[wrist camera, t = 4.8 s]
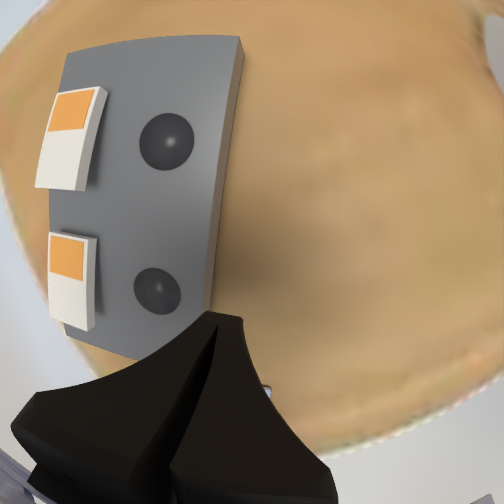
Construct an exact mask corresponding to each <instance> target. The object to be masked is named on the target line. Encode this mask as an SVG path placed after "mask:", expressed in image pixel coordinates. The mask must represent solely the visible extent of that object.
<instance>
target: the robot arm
mask: <svg viewBox="0 0 504 504" xmlns="http://www.w3.org/2000/svg"><path fill="white" fill-rule="evenodd" d="M270 396H271V389H270V388H268V387H263V386H262V384H261V382H260V380H259V377H258V375H257V373H256V371H255V368H254V366H253V363H252V360H251V358H250V354H249V351H248V348H247V345H246V341H245V336H244V330H243V319H242V318H241V317H238V316H232V315H227V314H221V313H216V312H211V311H205V312H204V313H202V314H201V315H200V316H199V317H198V318H197V319H196V320H195V321H194V322H193V323H192V324H191V325H189V326H188V327H187V328H186V329H185V330H183V331H182V332H181V333H180V334H179V335H177V336H176V337H175V338H174V339H172V340H171V341H170V342H168V343H167V344H165V345H164V346H162V347H161V348H159V349H158V350H157V351H155V352H154V353H152V354H150V355H149V356H147V357H145V358H144V359H142V360H140V361H138V362H136V363H135V364H133V365H131V366H129V367H127V368H124V369H122V370H120V371H117V372H115V373H112V374H110V375H108V376H105V377H102V378H99V379H96V380H93V381H90V382H87V383H84V384H79V385H76V386H71V387H66V388H61V389H55V390H49V391H42V392H36V393H35V394H34V395H33V397H32V398H31V399H30V400H29V401H28V402H27V404H26V405H25V406H24V408H23V409H22V410H21V412H20V413H19V414H18V415H17V417H16V418H15V419H14V421H13V422H12V423H11V431H12V432H13V435H14V436H15V438H16V439H17V441H18V442H19V443H20V444H21V446H22V447H23V448H24V449H25V450H26V452H27V453H28V454H29V455H30V456H31V457H32V458H33V460H34V461H35V462H36V463H37V465H36V466H35V468H34V470H33V471H32V472H30V471H29V470H27V469H26V468H25V467H23V466H22V465H21V464H19V463H18V462H16V461H15V460H14V459H13V458H11V457H10V456H9V455H8V454H7V453H5V452H4V451H3V450H2V449H0V504H36V503H35V501H34V497H33V495H34V496H36V497H37V498H39V499H40V500H42V501H43V502H45V503H46V504H338V494H337V490H336V487H335V483H334V480H333V477H332V474H331V471H330V469H329V467H327V466H326V465H325V464H324V463H323V462H322V461H321V460H320V459H318V458H317V457H316V456H315V455H314V454H313V453H312V452H311V451H310V450H309V449H308V448H307V447H306V446H305V445H304V444H303V442H302V441H301V440H300V439H299V438H298V437H297V436H296V435H295V433H294V432H293V431H292V430H291V428H290V427H289V426H288V424H287V423H286V422H285V420H284V419H283V418H282V416H281V415H280V414H279V412H278V411H277V410H276V408H275V406H274V405H273V403H272V402H271V400H270ZM31 493H32V494H33V495H32V494H31ZM471 504H494V501H493V498H492V495H491V494H488V495H486V496H484V497H482V498H480V499H478V500H476V501H475V502H473V503H471Z"/></svg>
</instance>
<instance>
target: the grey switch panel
mask: <svg viewBox="0 0 504 504" xmlns="http://www.w3.org/2000/svg"><path fill="white" fill-rule="evenodd" d="M244 56H245V53H244V50H243V47H242V44H241V40H240V37H239V36H225V35H186V36H167V37H155V38H146V39H137V40H130V41H124V42H117V43H112V44H107V45H101V46H97V47H92V48H88V49H84V50H80V51H76V52H72V53H68V54H67V58H66V61H65V65H64V69H63V74H62V78H61V83H60V87H59V92H58V93H61V92H66V91H72V90H77V89H84V88H90V87H98V86H100V87H102V88H103V89H104V90H106V91H107V92H108V94H107V98H106V101H105V104H104V107H103V111H102V114H101V118H100V122H99V125H98V129H97V133H96V137H95V142H94V146H93V151H92V155H91V160H90V165H89V171H88V176H87V182H86V188H85V192H84V191H73V190H61V189H49V218H50V232H52V231H61V232H66V233H71V234H76V235H82V236H87V237H92V238H97V243H96V258H95V287H94V309H95V327H93V328H92V329H90V330H89V331H85V330H82V329H79V328H76V327H74V326H71V325H69V324H66V323H64V327H65V331H66V335H67V336H70V337H72V338H75V339H77V340H80V341H82V342H85V343H88V344H90V345H93V346H96V347H99V348H101V349H104V350H107V351H110V352H113V353H116V354H119V355H122V356H125V357H128V358H132V359H135V360H138V361H140V360H142V359H144V358H145V357H147V356H149V355H150V354H152V353H154V352H155V351H157V350H158V349H159V348H161V347H162V346H164V345H165V344H167V343H168V342H170V341H171V340H172V339H174V338H175V337H176V336H177V335H179V334H180V333H181V332H182V331H183V330H185V329H186V328H187V327H188V326H189V325H191V324H192V323H193V322H194V321H195V320H196V319H197V318H198V317H199V316H200V315H201V314H202V313H204V312H205V311H210V304H211V293H212V283H213V273H214V264H215V254H216V245H217V237H218V228H219V220H220V212H221V204H222V196H223V188H224V181H225V174H226V167H227V160H228V153H229V146H230V139H231V133H232V126H233V120H234V114H235V107H236V101H237V95H238V90H239V84H240V78H241V72H242V67H243V61H244Z"/></svg>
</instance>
